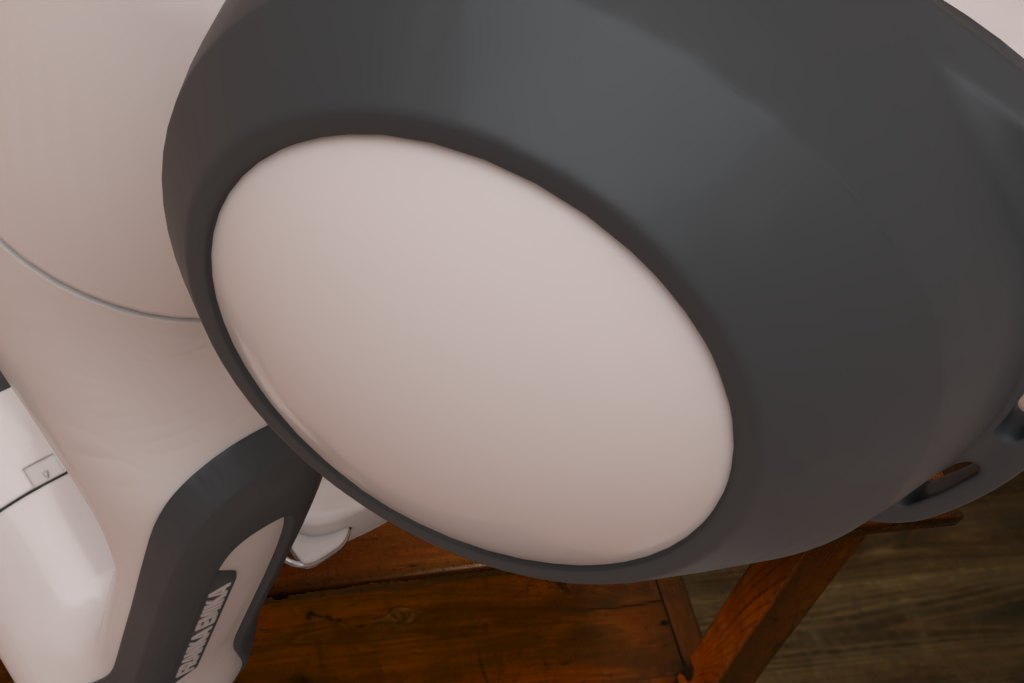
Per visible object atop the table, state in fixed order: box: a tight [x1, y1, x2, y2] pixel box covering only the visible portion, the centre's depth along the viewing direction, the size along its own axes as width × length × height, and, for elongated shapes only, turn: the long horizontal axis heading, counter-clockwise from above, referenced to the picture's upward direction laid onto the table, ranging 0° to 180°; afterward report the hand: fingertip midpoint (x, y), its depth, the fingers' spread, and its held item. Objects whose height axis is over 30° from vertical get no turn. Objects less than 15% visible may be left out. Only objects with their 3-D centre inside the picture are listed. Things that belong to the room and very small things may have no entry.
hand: (383, 336), depth 65 cm, fingers open, 8 cm apart
